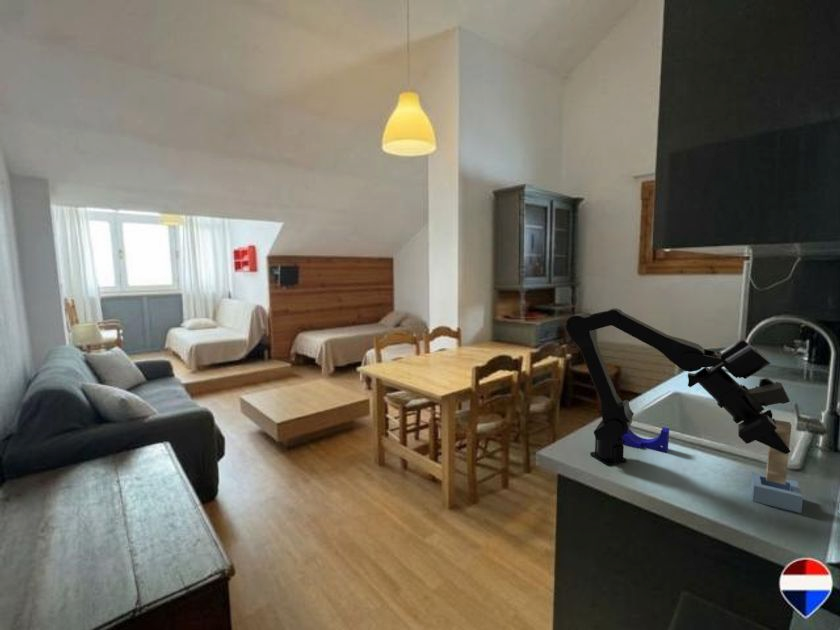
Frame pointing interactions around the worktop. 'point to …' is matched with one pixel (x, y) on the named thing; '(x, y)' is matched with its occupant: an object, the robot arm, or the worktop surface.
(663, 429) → the cable clip
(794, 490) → the blue-grey socket block
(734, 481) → the worktop surface
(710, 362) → the robot arm
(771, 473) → the slat
